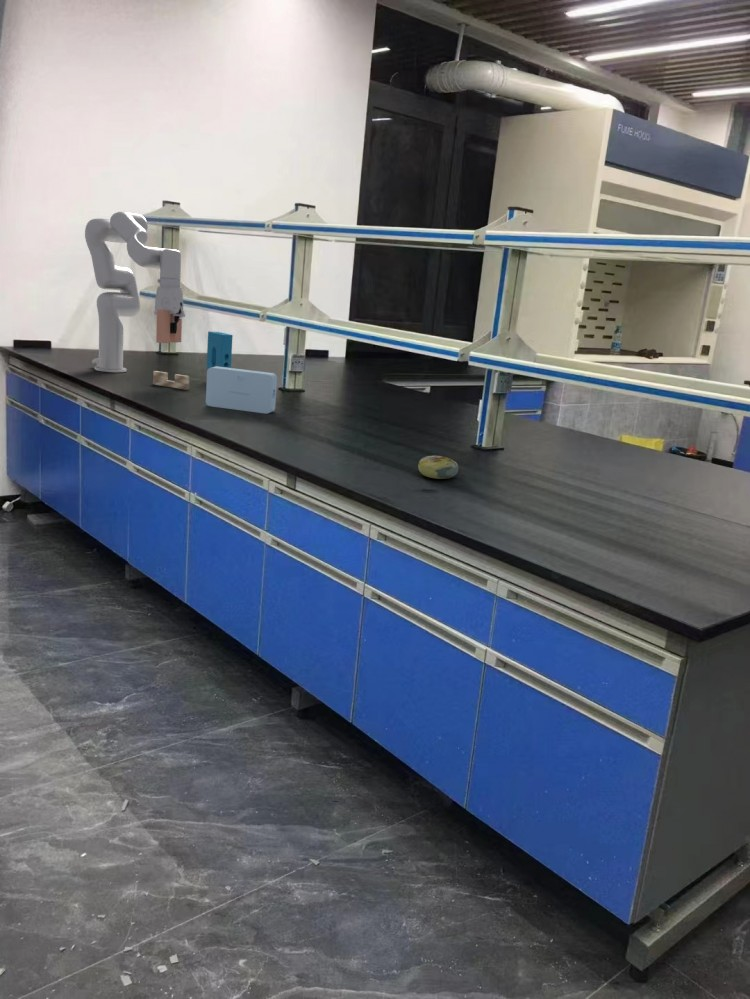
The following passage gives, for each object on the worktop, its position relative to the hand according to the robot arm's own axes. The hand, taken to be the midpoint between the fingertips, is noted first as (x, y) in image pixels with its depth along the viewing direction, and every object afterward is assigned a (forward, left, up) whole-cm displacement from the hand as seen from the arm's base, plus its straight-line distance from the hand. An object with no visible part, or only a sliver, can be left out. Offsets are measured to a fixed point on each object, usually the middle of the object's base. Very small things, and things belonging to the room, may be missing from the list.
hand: (169, 332), depth 324 cm
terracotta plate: (0, 0, -4) cm, 4 cm away
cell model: (+132, -68, -20) cm, 150 cm away
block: (+8, +23, -20) cm, 32 cm away
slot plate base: (+4, -3, -20) cm, 21 cm away
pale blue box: (+46, -23, -20) cm, 56 cm away
